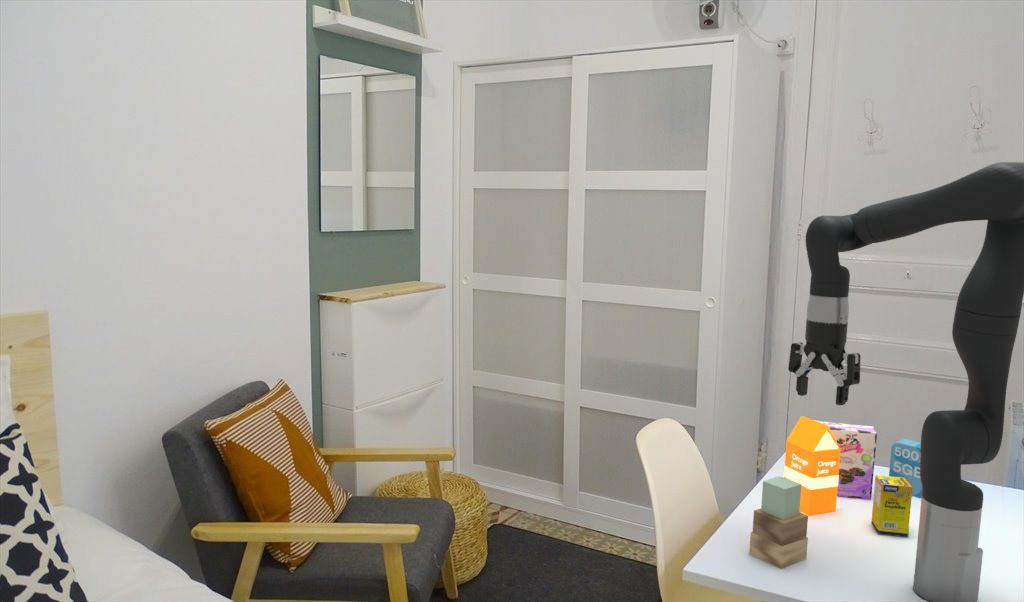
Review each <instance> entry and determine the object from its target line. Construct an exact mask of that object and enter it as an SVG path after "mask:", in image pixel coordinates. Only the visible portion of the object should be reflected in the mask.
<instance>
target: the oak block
mask: <svg viewBox="0 0 1024 602" xmlns="http://www.w3.org/2000/svg"><path fill="white" fill-rule="evenodd" d="M749 535H750V536H749V551H748V553H749V554H750V555H751V556H753V557H756V558H758V559H760V560H762V561H764V562H767V563H768V564H771V565H773V566H774V567H777V568H779V569H784V568H787V567H790V566H792V565H795V564H797V563H801V562H803V561H805V560H807V554H808V543H809V542H808V541H809V540H808V539H809V537H807V536H806V539H803V540H800V541H797V542H794V543H791V544H788V545H785V546H780V545H778V544H776V543H774V542H772V541H770V540H767V539H765V538H763V537H761V536H759V535H757V534H755V533H753V531H751V532H750V534H749Z"/></svg>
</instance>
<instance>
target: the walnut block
mask: <svg viewBox="0 0 1024 602" xmlns="http://www.w3.org/2000/svg"><path fill="white" fill-rule="evenodd" d="M808 520H809V516H808V515H806V514H804V513H802V512H800V513H799V515H796V516H793V517H790V518H787V519H784V520H782V519H780V518H777V517H775V516H772V515H770V514H768V513H765V512H763V511H761V508H758V509H754V510H753V520H752V532H753V533H755V534H757V535H759V536H761V537H763V538H765V539H767V540H770V541H772V542H774V543H776V544H778V545H780V546H785V545H788V544H791V543H794V542H797V541H800V540H803V539H806V537H807V533H808V522H809V521H808Z"/></svg>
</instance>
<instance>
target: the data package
mask: <svg viewBox="0 0 1024 602" xmlns="http://www.w3.org/2000/svg"><path fill="white" fill-rule="evenodd" d="M920 457H921V441H920V442H919V441H915V440H911V439H905V438H903V439H900V440H898V441H895V442H893V444H892V445H891V449H890V460H889V472H888V473H889V474H888V476H892V477H903V478H905V479H906V480H907V481H908V482H909V484H910V485H911V486H912V487H913V488H912V497H916V498H919V499H922V483H921V479H920Z"/></svg>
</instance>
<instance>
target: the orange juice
mask: <svg viewBox="0 0 1024 602" xmlns="http://www.w3.org/2000/svg"><path fill="white" fill-rule="evenodd" d="M798 419H799V420H797V422H796V425H795V426H794V428H793V429H792V430H791V432H790V434H789V436H788V437H787V439H786V441H785V442H786V443H785V457H784V459H785V460H784V467H783V469H784V470H783V478H786V479H788V480H791V481H794V482H797V483H800V484H802V486H801V500H800V512H801V511H802V512H803V513H802V512H801V513H802V514H804V513H805V514H804V515H807V516H808V517H811V515H812V516H818V514H819V515H824V514H829V513H832V514H833V513H836V509H837V500H838V496H837V488H838V480H839V464H840V451H841V449H840V448H839V446H838V444H837V442H836V440H835V438H834V436H833V434H832V432H831V430H830V428H829V426H828V425H825V424H822V423H820V422H817V421H818V420H816V421H814V419H811V418H808V417H806V416H803V415H801V416H800V418H798Z"/></svg>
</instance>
